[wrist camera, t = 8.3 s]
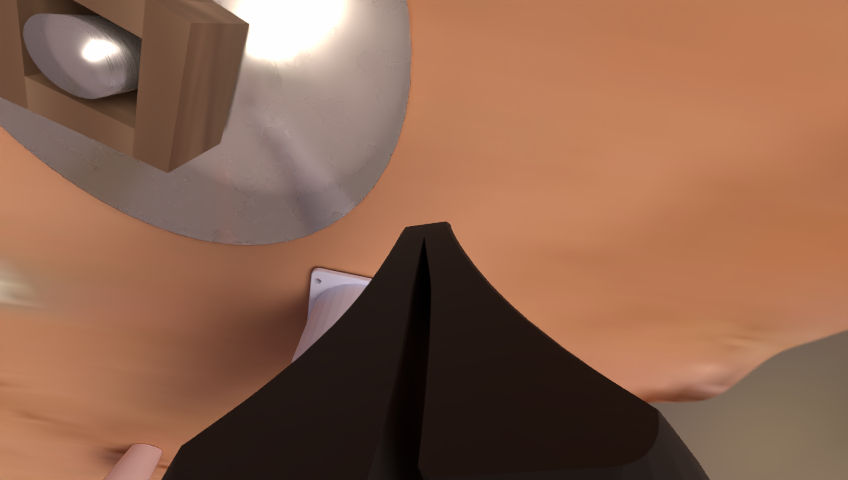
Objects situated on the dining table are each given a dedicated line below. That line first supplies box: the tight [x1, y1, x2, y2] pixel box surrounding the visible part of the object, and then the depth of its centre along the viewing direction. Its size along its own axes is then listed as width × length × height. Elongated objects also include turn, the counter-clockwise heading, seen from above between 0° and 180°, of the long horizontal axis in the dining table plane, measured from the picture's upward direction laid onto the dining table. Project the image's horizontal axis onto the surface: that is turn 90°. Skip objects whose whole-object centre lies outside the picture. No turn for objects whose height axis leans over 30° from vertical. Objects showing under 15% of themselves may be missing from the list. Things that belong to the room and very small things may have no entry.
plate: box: [0, 0, 412, 245], centre depth 14 cm, size 22×22×1 cm
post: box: [23, 14, 142, 99], centre depth 12 cm, size 2×2×6 cm
